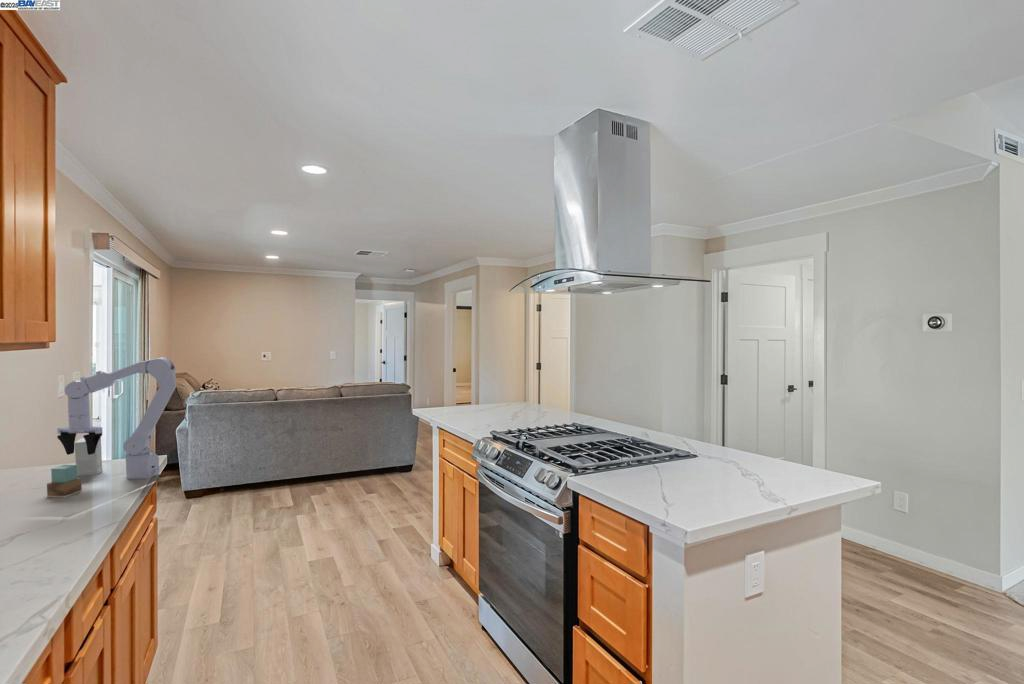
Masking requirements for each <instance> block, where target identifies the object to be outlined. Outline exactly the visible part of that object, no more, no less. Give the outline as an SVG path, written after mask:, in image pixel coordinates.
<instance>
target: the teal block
mask: <svg viewBox="0 0 1024 684" xmlns="http://www.w3.org/2000/svg"><path fill="white" fill-rule="evenodd" d="M50 477H51V482H52V483H66V482H69V481H72V480H75V479H78V478H79V476H77V465H76V464H63V465H60V466H55V467H52V468H51V476H50Z"/></svg>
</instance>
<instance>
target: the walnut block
mask: <svg viewBox="0 0 1024 684" xmlns="http://www.w3.org/2000/svg"><path fill="white" fill-rule="evenodd" d="M82 489H83V487H82V477H78V479H75V480H72V481H69V482H66V483H52V481H50V482H47V483H46V496H66V497H68V496H67V495H69V496H71V495H70V494H72V493H74V494H76V493H75V492H77V493H79V492H78V491H80V490H82ZM82 491H83V490H82ZM80 492H81V491H80ZM72 495H73V494H72Z"/></svg>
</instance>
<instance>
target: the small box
mask: <svg viewBox="0 0 1024 684" xmlns="http://www.w3.org/2000/svg"><path fill="white" fill-rule="evenodd" d="M74 455H75V465H77V477H82V476H84V477H85V476H98V475H100V473H101V472H102V471H103V458H102V436H101V437H100V439H99V441H98V443H97V446H96V450H95V453H94V454H91V455H88V453H87V445H86V441H85V439H84V437H83V438H79V439H78V440H77V441H75V442H74Z"/></svg>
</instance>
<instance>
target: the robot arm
mask: <svg viewBox="0 0 1024 684" xmlns="http://www.w3.org/2000/svg"><path fill="white" fill-rule="evenodd" d="M135 374H144V375H145V374H146V375H147V374H149V375H150V376H152V377H153V378H154V379H155V380H156V382H157V384H158V389H157V390H156V392H155V394H154V396H153V398H152V400H151V402H150V403H149V405H148V407H147V409H146V411H145V413H144V414H143V416H142V419H141V420H140V422H139V424H138V426H137V427H136V428H135V430H134V431H133V433H132V434H131V436H130V437H129V438H128V439H126V440H125V441H124V443H123V445H122V446H123V450H124V452H125V470H126V471H125V472H126V473H125V474H126V479H129V480H137V479H150V478H153V477H154V476H160V475H161V474H162V473H161V472H160V459H159V456H158V454H157V453H153V452H151V449H150V448H149V446H150V444H151V443H152V436H153V433H154V429H155V427H156V425H157V423H158V421H159V420H160V418H161V416H162V415H163V413H164V411H165V408H166V406H167V405H168V403H169V401H170V399H171V397H172V395H173V394H174V392H175V389H176V388H177V385H178V382H177V374H176V366H175V364H174V363H173V362H172V360H171V358H170V359H169V358H168V357H165V356H163V357H162V356H161V357H158V358H153V359H148V360H144V361H139V362H136V363H134V364H130V365H128V366H126V367H122V368H120V369H117V370H115V371H113V372H109V371H107V370H103V371H102V370H98V371H95V374H92V375H88V376H86V377H85V376H82V377H80V380H74V381H70V382H69V383H67V384H66V385H65V387H64V393H65V395H66V396H67V410H68V411H67V413H68V426H62V427H57V429H56V431H57V434H58V435H57V436H56V438H57V439H58V440H59V441H60V443H61V445H62V446H63V448H64V450H65V453H66V455H67V456H68V455H72V454H75V442H76V436H77V434H84V435H83V438H84V439H85V441H86V445H87V453H88V455H91V454H94V453H95V450H96V446H97V443H98V441H99V439H100V437H101V438H102V437H103V427H102V426H91V413H90V411H91V409H90V407H91V406H90V394H93V393H96V392H99V391H102V390H105V389H107V388H110V387H112V386H113V385H114V383H115V382H116V381H118V380H121V379H124V378H126V377H130V376H133V375H135Z"/></svg>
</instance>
